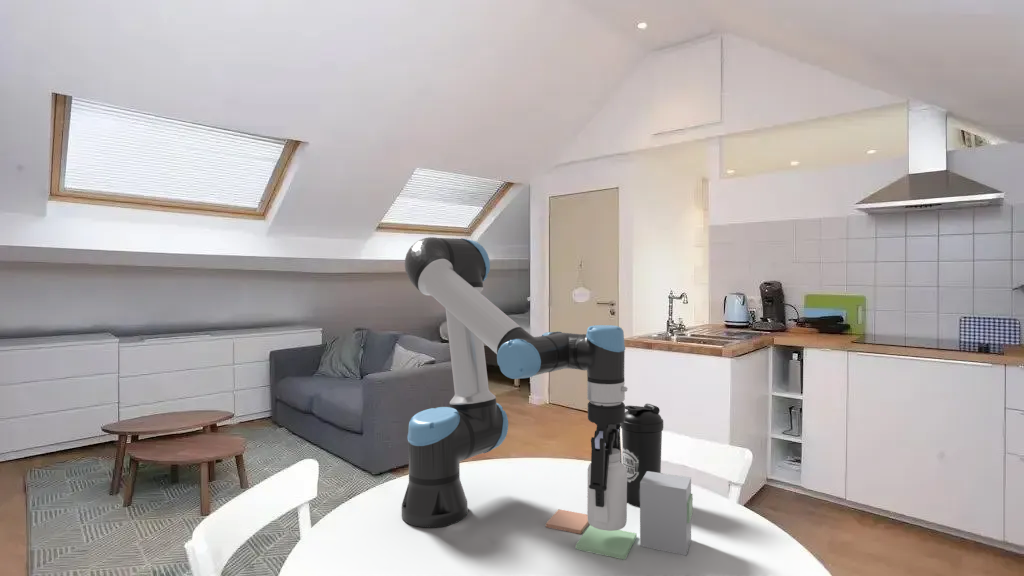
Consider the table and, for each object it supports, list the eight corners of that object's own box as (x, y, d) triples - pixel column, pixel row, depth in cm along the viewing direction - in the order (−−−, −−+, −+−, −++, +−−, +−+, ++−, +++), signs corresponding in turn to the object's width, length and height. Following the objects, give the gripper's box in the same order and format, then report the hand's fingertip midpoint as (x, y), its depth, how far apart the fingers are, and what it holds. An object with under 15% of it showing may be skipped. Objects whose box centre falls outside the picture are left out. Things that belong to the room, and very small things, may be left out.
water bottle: (612, 495, 137) (612, 403, 137) (646, 489, 141) (646, 399, 141) (637, 511, 128) (636, 413, 127) (672, 504, 132) (672, 408, 131)
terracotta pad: (545, 527, 121) (545, 523, 121) (558, 512, 128) (558, 509, 128) (580, 534, 117) (580, 530, 117) (592, 518, 124) (592, 515, 124)
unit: (638, 545, 112) (638, 482, 112) (645, 531, 118) (645, 470, 118) (688, 555, 108) (688, 489, 108) (693, 540, 114) (693, 477, 114)
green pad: (575, 549, 111) (575, 545, 111) (590, 528, 120) (590, 524, 120) (625, 559, 107) (625, 555, 107) (636, 537, 116) (636, 533, 116)
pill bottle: (627, 533, 108) (626, 457, 108) (586, 530, 110) (585, 455, 110) (627, 516, 116) (626, 445, 116) (588, 513, 118) (588, 443, 117)
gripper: (610, 415, 102) (611, 538, 102) (635, 393, 120) (636, 496, 121) (572, 411, 105) (573, 530, 105) (602, 390, 124) (603, 491, 124)
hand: (607, 512), depth 113 cm, fingers closed on pill bottle, 8 cm apart
